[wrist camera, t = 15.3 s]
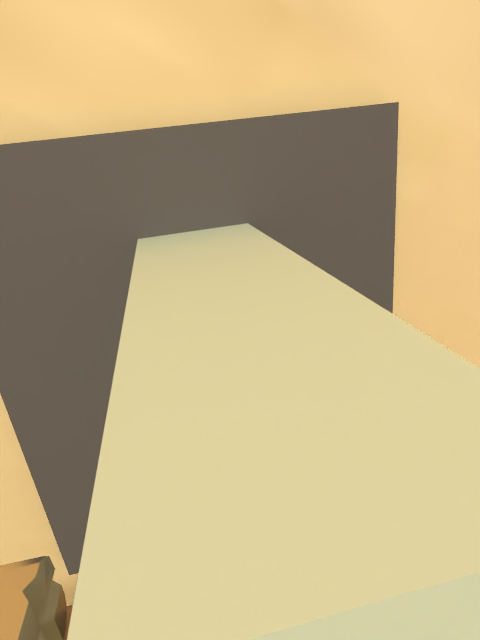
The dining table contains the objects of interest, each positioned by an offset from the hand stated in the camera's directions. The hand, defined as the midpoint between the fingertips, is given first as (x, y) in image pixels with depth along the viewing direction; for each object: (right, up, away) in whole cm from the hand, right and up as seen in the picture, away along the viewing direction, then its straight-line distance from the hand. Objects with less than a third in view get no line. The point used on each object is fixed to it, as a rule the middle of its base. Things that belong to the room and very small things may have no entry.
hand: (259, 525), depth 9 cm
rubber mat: (-2, +3, +7) cm, 8 cm away
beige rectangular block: (-1, +2, +6) cm, 7 cm away
